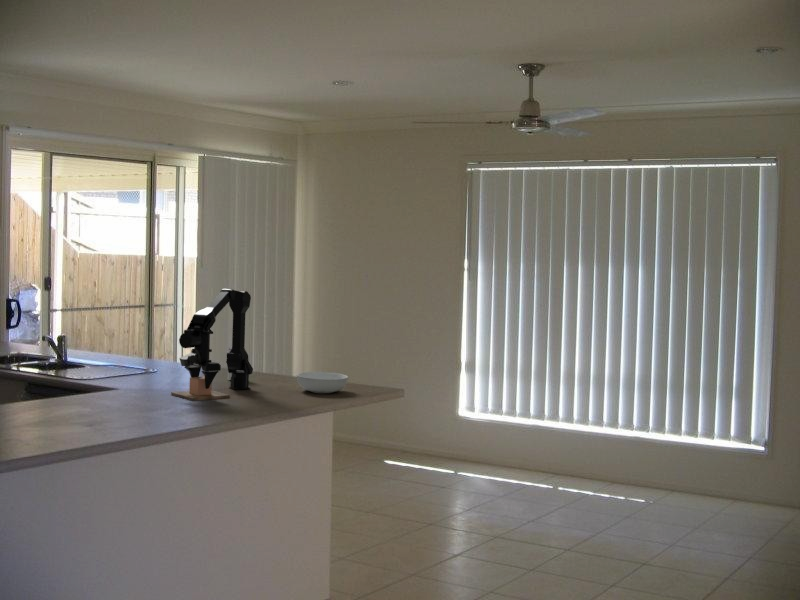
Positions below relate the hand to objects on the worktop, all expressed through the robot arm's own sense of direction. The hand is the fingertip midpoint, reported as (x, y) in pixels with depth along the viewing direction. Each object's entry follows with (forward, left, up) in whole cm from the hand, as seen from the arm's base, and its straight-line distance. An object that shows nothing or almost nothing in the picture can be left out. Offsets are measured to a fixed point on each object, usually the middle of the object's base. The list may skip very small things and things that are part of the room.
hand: (200, 387), depth 357 cm
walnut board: (0, 0, -4) cm, 4 cm away
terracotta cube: (0, 0, -2) cm, 3 cm away
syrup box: (-36, -32, -4) cm, 48 cm away
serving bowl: (-49, +12, -4) cm, 51 cm away
